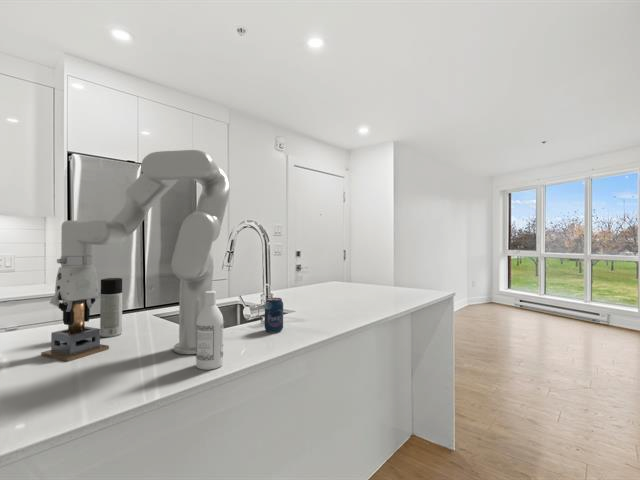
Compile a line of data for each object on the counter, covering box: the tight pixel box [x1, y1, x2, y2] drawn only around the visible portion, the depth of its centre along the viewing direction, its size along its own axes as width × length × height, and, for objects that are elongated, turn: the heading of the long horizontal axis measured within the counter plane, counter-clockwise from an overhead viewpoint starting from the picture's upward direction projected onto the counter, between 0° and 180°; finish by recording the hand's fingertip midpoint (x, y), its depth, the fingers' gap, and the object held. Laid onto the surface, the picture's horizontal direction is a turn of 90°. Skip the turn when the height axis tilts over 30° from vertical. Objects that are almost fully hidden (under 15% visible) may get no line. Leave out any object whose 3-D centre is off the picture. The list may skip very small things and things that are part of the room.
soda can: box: [264, 297, 284, 334], centre depth 128 cm, size 7×7×12 cm
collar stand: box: [40, 326, 110, 362], centre depth 102 cm, size 12×12×6 cm
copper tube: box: [67, 299, 86, 334], centre depth 102 cm, size 4×4×11 cm
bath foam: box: [195, 290, 224, 371], centre depth 92 cm, size 7×7×20 cm
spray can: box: [99, 277, 123, 338], centre depth 121 cm, size 7×7×20 cm
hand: (76, 322), depth 102 cm, fingers closed on copper tube, 4 cm apart
